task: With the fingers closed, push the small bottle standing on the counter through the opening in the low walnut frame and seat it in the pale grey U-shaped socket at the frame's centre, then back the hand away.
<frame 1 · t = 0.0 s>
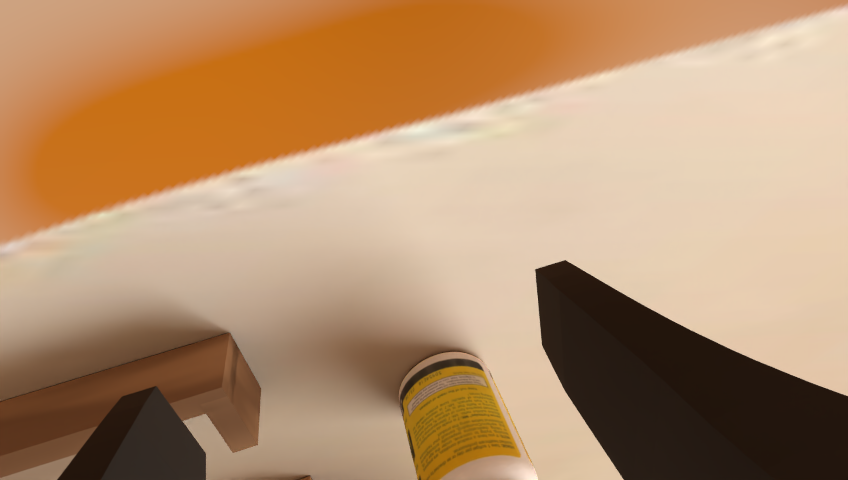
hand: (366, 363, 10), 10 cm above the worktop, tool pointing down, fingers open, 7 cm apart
supplement bottle: (442, 381, 25), on the worktop
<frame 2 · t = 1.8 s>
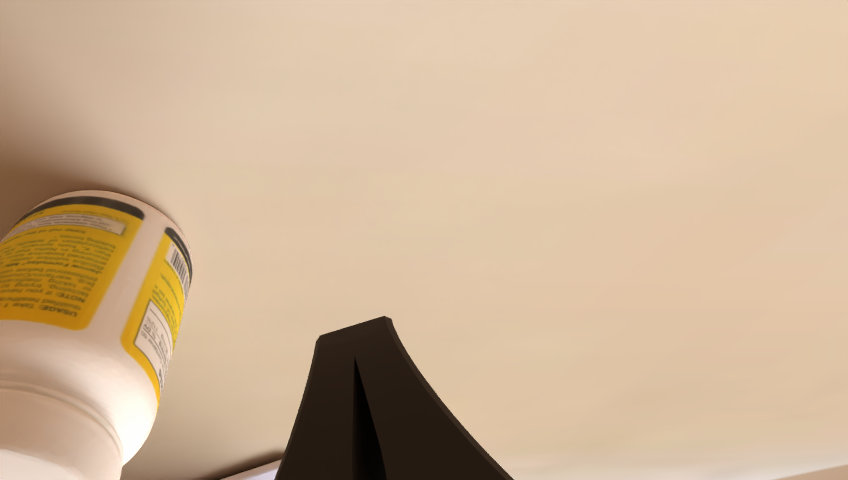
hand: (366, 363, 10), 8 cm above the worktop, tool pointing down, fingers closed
supplement bottle: (112, 253, 16), on the worktop
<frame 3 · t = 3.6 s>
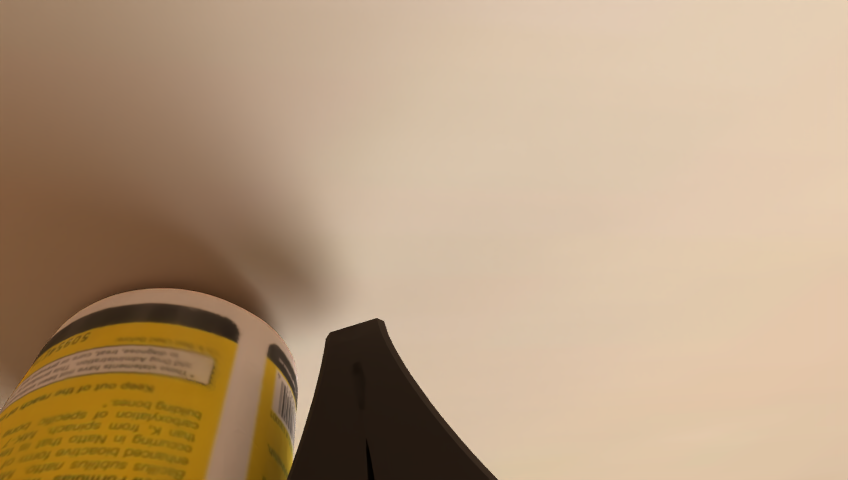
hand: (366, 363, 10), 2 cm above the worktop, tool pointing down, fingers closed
supplement bottle: (185, 366, 11), on the worktop, touching gripper
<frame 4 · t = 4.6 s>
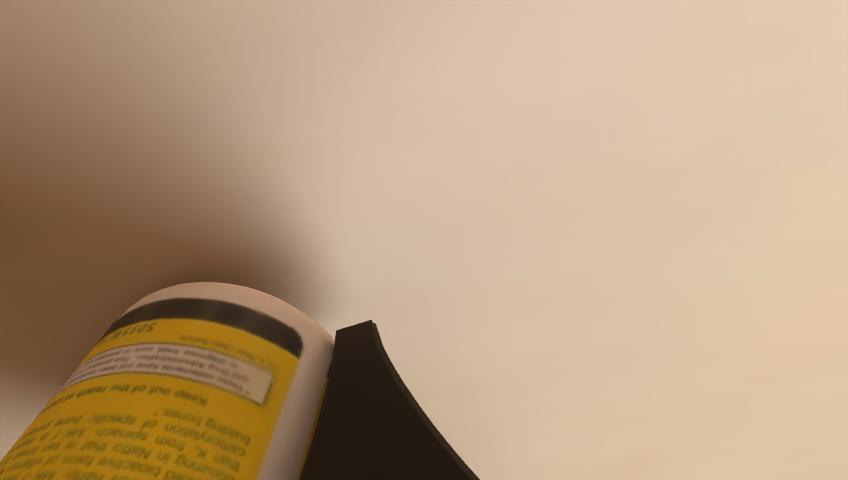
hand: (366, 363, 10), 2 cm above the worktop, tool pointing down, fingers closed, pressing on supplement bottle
supplement bottle: (244, 361, 10), on the worktop, touching gripper
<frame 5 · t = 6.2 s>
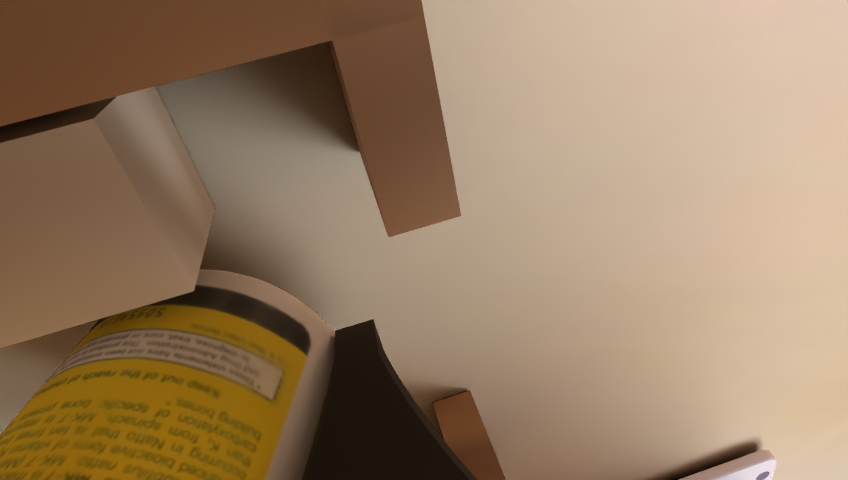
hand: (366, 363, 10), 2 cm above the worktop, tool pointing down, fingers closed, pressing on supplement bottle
socket box: (126, 385, 11), on the worktop
supplement bottle: (240, 351, 10), resting in socket box, touching gripper
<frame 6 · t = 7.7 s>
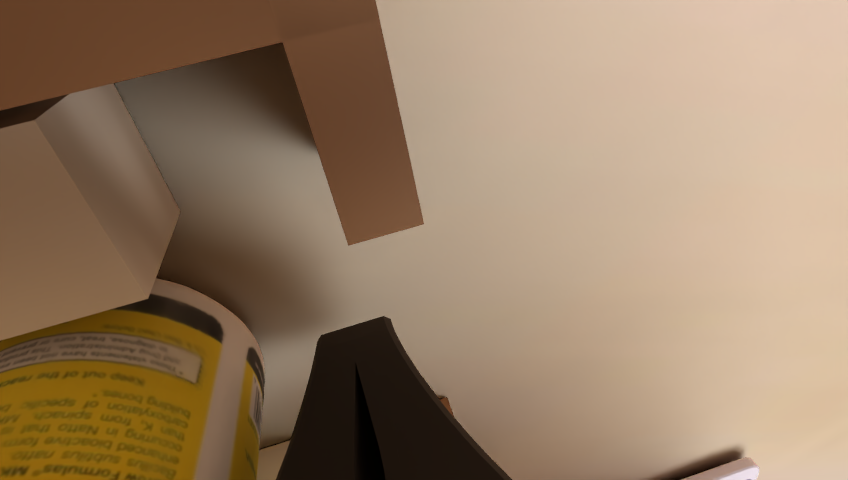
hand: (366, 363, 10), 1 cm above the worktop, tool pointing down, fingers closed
socket box: (91, 390, 10), on the worktop
supplement bottle: (146, 357, 10), resting in socket box, touching gripper
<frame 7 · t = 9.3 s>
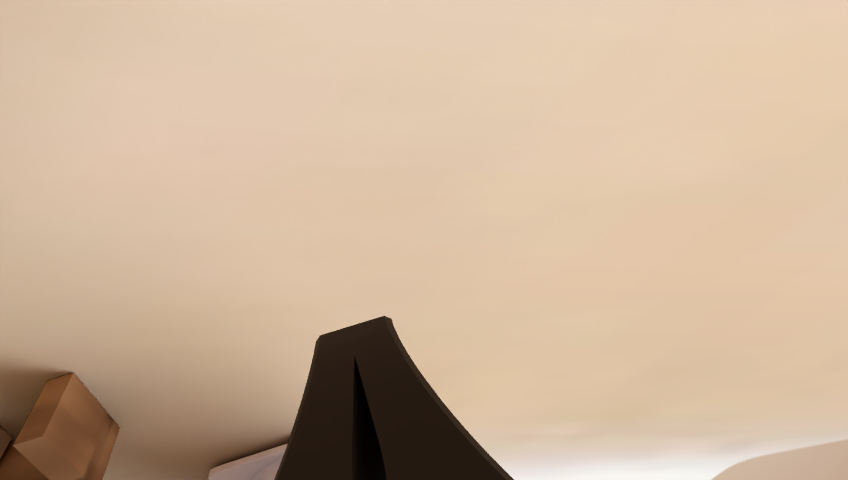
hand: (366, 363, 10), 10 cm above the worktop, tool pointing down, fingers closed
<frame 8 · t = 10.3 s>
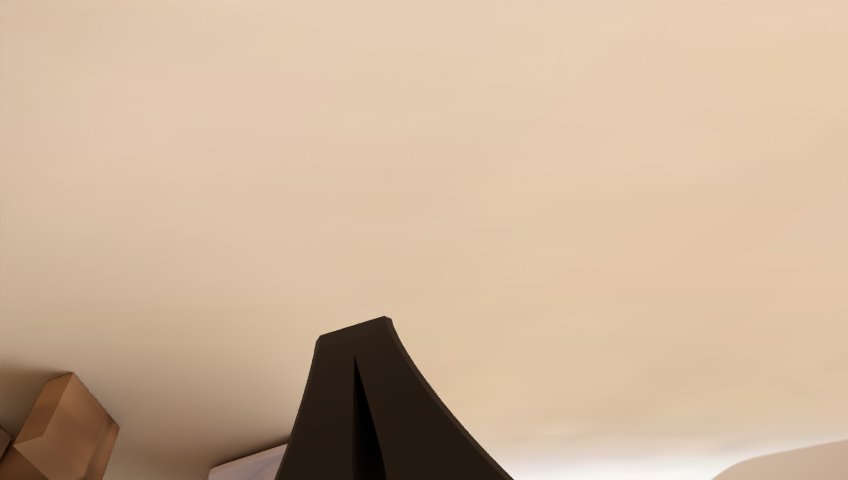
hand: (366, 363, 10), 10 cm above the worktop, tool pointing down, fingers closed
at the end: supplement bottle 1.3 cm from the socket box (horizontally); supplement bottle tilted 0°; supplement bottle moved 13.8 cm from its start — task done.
